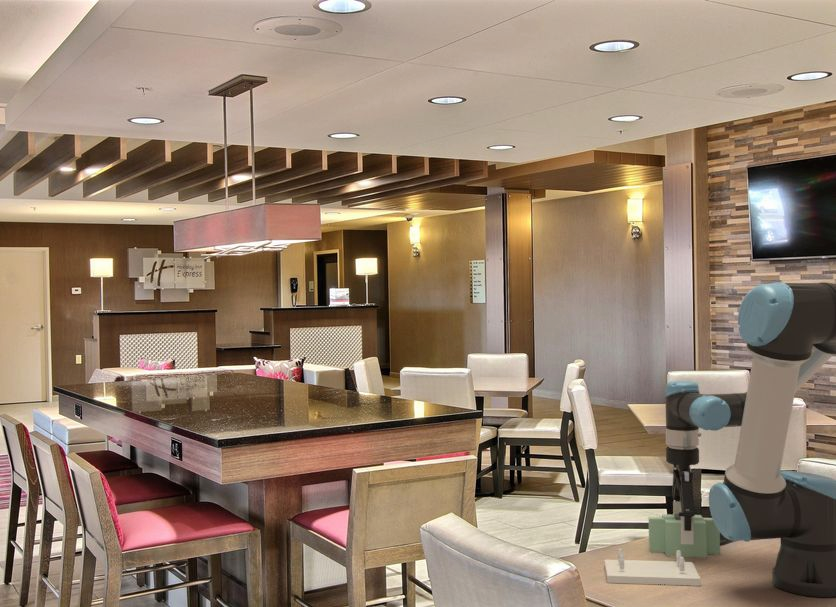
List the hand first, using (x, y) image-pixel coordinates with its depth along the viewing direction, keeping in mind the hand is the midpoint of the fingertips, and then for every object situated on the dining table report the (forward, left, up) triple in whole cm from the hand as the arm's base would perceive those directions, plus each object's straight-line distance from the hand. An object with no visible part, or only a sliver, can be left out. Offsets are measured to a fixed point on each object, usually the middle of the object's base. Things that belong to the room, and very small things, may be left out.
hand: (683, 535), depth 210 cm
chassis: (-12, +18, -4) cm, 22 cm away
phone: (+5, -12, -4) cm, 14 cm away
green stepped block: (0, 0, -4) cm, 4 cm away
